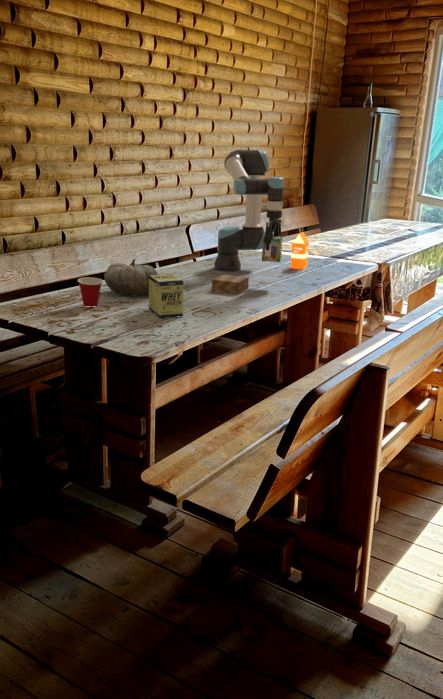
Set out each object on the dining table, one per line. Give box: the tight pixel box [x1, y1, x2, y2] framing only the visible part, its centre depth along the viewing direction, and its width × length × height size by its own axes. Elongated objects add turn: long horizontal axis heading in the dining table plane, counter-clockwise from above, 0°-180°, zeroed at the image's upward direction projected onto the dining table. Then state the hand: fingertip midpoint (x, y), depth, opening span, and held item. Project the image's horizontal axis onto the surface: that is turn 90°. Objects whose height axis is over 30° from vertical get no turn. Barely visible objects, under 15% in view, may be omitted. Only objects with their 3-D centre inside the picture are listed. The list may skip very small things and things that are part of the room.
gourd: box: [103, 258, 158, 297], centre depth 318 cm, size 25×25×17 cm
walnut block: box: [211, 273, 250, 295], centre depth 333 cm, size 14×14×6 cm
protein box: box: [148, 273, 184, 319], centre depth 286 cm, size 10×16×16 cm
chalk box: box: [261, 234, 283, 263], centre depth 338 cm, size 9×9×15 cm
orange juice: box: [290, 231, 310, 270], centre depth 390 cm, size 8×9×20 cm
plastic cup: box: [77, 276, 104, 307], centre depth 294 cm, size 11×11×12 cm
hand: (271, 254), depth 339 cm, fingers closed on chalk box, 10 cm apart
